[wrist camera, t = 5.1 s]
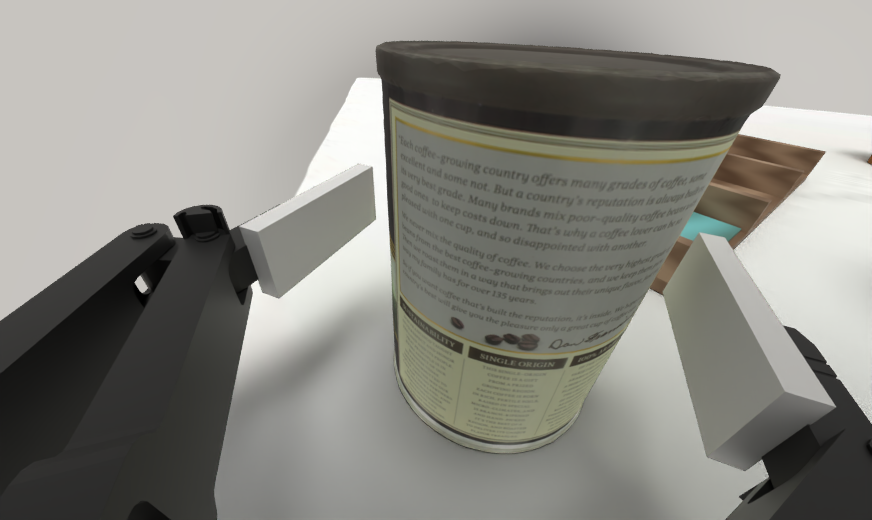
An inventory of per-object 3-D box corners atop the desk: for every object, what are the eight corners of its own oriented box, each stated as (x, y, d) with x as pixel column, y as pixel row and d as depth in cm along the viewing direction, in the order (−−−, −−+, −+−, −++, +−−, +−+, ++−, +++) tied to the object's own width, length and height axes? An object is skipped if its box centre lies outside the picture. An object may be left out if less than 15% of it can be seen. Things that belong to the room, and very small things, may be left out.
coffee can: (371, 316, 20) (343, 34, 11) (512, 280, 23) (569, 46, 15) (436, 503, 12) (496, 63, 4) (632, 407, 16) (881, 73, 7)
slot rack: (804, 180, 44) (826, 151, 42) (678, 303, 22) (710, 255, 20) (691, 152, 53) (704, 127, 51) (520, 219, 31) (529, 179, 28)
